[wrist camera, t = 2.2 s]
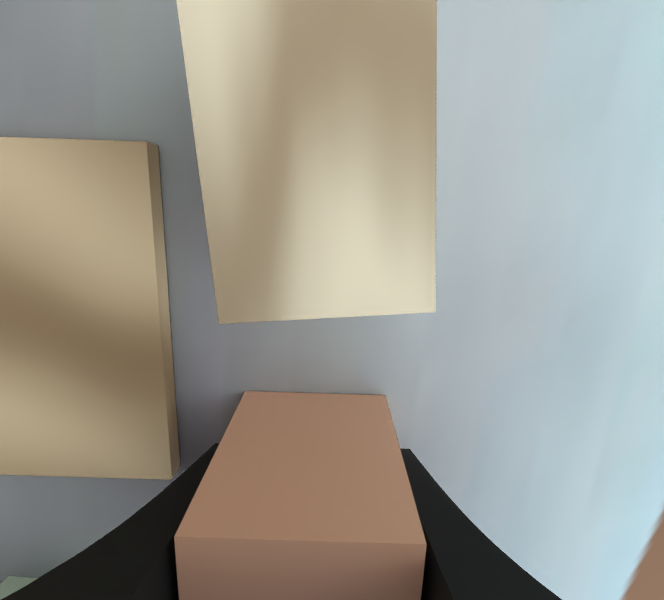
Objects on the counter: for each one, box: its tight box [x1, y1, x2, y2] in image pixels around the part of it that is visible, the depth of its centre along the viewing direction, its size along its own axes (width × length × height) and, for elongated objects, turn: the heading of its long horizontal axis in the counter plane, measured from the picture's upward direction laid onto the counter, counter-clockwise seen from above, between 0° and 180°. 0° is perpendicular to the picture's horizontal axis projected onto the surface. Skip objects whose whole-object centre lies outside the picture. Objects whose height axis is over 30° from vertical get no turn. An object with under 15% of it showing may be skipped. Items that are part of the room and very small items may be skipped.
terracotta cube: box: [174, 391, 427, 600], centre depth 9 cm, size 4×4×5 cm
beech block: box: [176, 0, 437, 324], centre depth 7 cm, size 5×5×3 cm
